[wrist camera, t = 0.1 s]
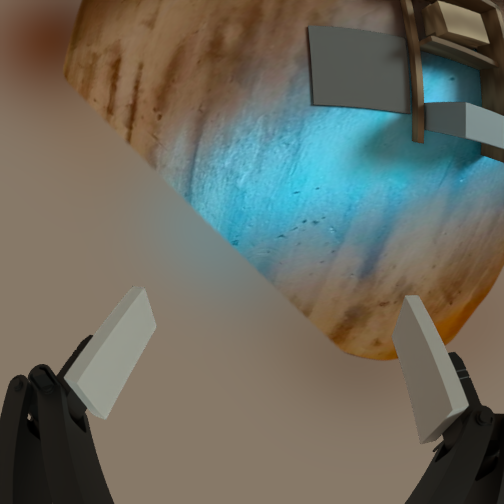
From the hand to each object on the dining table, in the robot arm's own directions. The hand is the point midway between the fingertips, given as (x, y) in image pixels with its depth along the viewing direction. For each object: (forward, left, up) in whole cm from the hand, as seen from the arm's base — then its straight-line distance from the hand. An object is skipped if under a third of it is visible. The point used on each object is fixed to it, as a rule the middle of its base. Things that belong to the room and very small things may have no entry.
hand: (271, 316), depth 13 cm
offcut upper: (-27, +26, -25) cm, 45 cm away
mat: (-17, +11, -28) cm, 35 cm away
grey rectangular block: (-11, +26, -28) cm, 40 cm away
